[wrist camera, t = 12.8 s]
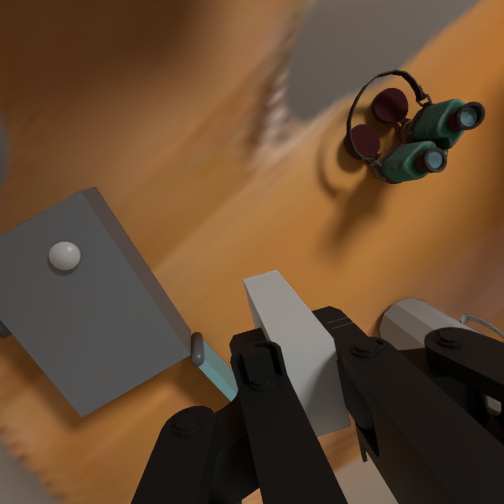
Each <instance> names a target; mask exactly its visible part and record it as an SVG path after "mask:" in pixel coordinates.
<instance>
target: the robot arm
mask: <svg viewBox="0 0 504 504" xmlns="http://www.w3.org/2000/svg"><path fill="white" fill-rule="evenodd" d="M243 282H244V286H245V290H246V294H247V297H248V301H249V305H250V309H251V313H252V317H253V321H254V325H255V329H254V330H250V331H247V332H243V333H240V334H237V335H234V336H233V338H232V340H231V342H230V344H229V345H230V349H231V354H232V356H231V361H230V363H231V366H232V370H233V373H234V377H235V380H236V384H237V387H238V392H237V395H236V396H235V398H234V399H233V400H232V401H231V402H230V403H229V404H228V405H227V406H225V407H224V408H222V409H221V410H219V411H217V412H215V413H214V412H213V411H212V410H211V408H208V407H205V406H193V407H189V408H186V409H183V410H181V411H179V412H178V413H176V414H174V415H173V416H172V417H171V418H170V419H169V420H167V421H166V423H165V424H164V426H163V428H162V429H161V432H160V434H159V436H158V439H157V441H156V444H155V446H154V449H153V451H152V453H151V456H150V458H149V461H148V463H147V466H146V468H145V470H144V473H143V475H142V478H141V480H140V483H139V485H138V487H137V490H136V492H135V495H134V497H133V500H132V502H131V504H242V500H243V499H244V498H245V497H247V496H248V495H250V494H251V493H253V492H254V491H255V490H257V489H258V488H260V492H261V496H262V501H263V504H348V503H347V501H346V498H345V496H344V494H343V492H342V490H341V488H340V486H339V484H338V481H337V479H336V477H335V475H334V473H333V471H332V469H331V466H330V464H329V462H328V460H327V458H326V456H325V454H324V452H323V449H322V447H321V445H320V443H319V441H318V439H317V437H318V436H321V435H324V434H327V433H330V432H333V431H336V430H339V429H342V428H345V427H348V426H351V424H350V419H349V414H348V411H349V412H350V414H351V416H352V417H353V419H354V420H355V425H356V430H357V435H358V441H359V446H360V451H361V456H362V459H363V462H366V461H367V456H366V451H367V453H368V454H369V456H370V458H371V459H372V461H373V463H374V464H375V466H376V467H377V469H378V471H379V472H380V474H381V476H382V477H383V479H384V480H385V482H386V484H387V485H388V487H389V488H390V490H391V492H392V493H393V495H394V497H395V499H396V500H397V502H398V503H399V504H504V343H503V342H500V341H498V340H495V339H493V338H490V337H487V336H485V335H482V334H479V333H477V332H474V331H472V330H468V329H464V328H457V327H446V328H445V327H443V328H439V329H436V330H433V331H431V332H429V333H428V334H427V335H426V336H425V338H424V346H425V348H417V349H407V350H397V349H396V348H395V347H394V346H393V345H392V344H391V343H389V342H388V341H386V340H384V339H381V338H377V337H368V336H367V335H366V334H365V333H364V332H363V331H362V330H361V329H360V328H359V327H358V326H357V325H356V324H355V323H353V322H352V320H350V319H349V318H347V316H346V315H345V314H344V313H343V312H342V311H341V310H339V309H337V308H334V307H331V306H328V307H324V308H321V309H318V310H314V311H310V310H309V308H308V307H307V306H306V305H305V303H304V302H303V301H302V300H301V299H300V297H299V296H298V295H297V294H296V293H295V291H294V290H293V289H292V288H291V286H290V285H289V284H288V283H287V282H286V280H285V279H284V278H283V277H282V275H281V274H280V273H279V272H278V271H277V270H274V271H270V272H267V273H263V274H260V275H256V276H252V277H249V278H245V279H243ZM488 396H489V397H491V398H493V399H494V400H496V401H498V402H500V403H501V412H499V411H496V410H494V409H492V408H490V407H489V406H488Z"/></svg>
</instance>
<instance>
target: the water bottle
mask: <svg viewBox="0 0 504 504" xmlns="http://www.w3.org/2000/svg"><path fill="white" fill-rule="evenodd" d="M460 319H461V320H460V322H461V323H460V322H459V321H457V320H455V319H453V318H452V317H450V316H448V315H447V314H445V313H443V312H441V311H440V310H438V309H436V308H435V307H433V306H431V305H430V304H428V303H426V302H424V301H423V300H418V299H412V298H407V299H404V300H402V301H399V302H396V303H394V304H393V305H392V306H391V307H390V308H389V309H388V310H387V311H386V312H385V313H384V315H383V318H382V321H381V324H380V327H379V330H380V335H381V339H384V340H386V341H388V342H389V343H391V344H392V345H393V346H394V347H395V348H396V349H397V350H407V349H417V348H425V346H424V338H425V336H426V335H427V334H428V333H429V332H431V331H433V330H436V329H439V328H443V327H445V328H446V327H457V328H464V329H468V330H472V331H474V332H477V331H475V330H474V329H472V328H470V327H468V326H466V325H465V323H466V322H467V321H468V320H471V321H475V322H478V323H480V324H482V325H484V326H486V327H489V328H490V329H491V330H493V331H494V332H496V333H497V334H498V335H500V336H501V337H503V338H504V333H503V332H502V331H500V330H499V329H497V328H496V327H495V326H493V325H492V324H490V323H489V322H488V321H485V320H483V319H481V318H478V317H476V316H473V315H469V314H465V315H464V316H462V317H460ZM477 333H479V332H477ZM479 334H481V333H479ZM482 335H483V334H482ZM488 406H489V407H490V408H492V409H494V410H496V411H499V412H501V403H500V402H498V401H496V400H494V399H493V398H491V397H489V396H488Z"/></svg>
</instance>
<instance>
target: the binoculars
mask: <svg viewBox="0 0 504 504" xmlns="http://www.w3.org/2000/svg"><path fill="white" fill-rule="evenodd" d="M390 74H393V75H398V76H402V77H403V78H404V79H405V80H406V81H407V82H408V83H409V84H410V86H411V87H412V89H413V90H414V92H415V95H416V102H417V103H418V104H419V105H420V106H421V107H423V108H422V109H421V110H419V111H418V112H417V113H416V115H415V117H414V118H413V119H407V118H405V117H406V115H407V112H408V101H407V99H406V96H405V95H404V93H403V92H402V91H400V90H399V89H396V88H388V89H385V90H383V91H382V92H380V93H379V94H378V95H377V96H376V97H375V99H374V100H373V103H372V112H373V115H374V117H375V118H376V119H377V120H379V121H380V122H383V123H396V122H399V123H400V124H402V125H401V127H400V137H401V140H402V142H403V143H404V144H400V145H399V146H398V147H395V148H393V149H391V150H390V151H389V152H388V153H387V154H377V152H378V151H379V149H380V140H379V136H378V134H377V132H376V131H375V130H374V129H373V128H372V127H371V126H369V125H365V124H360V125H357V126H355V127H354V128H353V129H351V120H352V116H353V113H354V109H355V106H356V104H357V102H358V100H359V98H360V96H361V95H362V93H363V92H364V90H365V89H366V87H367V86H368V85H369V84H370V83H371V82H372V81H373V80H374V79H376V78H378V77H382V76H386V75H390ZM426 98H428V100H429V101H428V102H426V103H424V104H422V103H421V102H420V101H421V100H424V99H426ZM484 117H485V109H484V107H483V105H482V104H480V103H478V102H469V103H467V104H465V103H464V102H463V101H461V100H460V99H451V100H448V101H444V102H440V103H437V104H432V100H431V98H430V96H429V95H428V94H425V93H424V92H423V91H422V88H421V86H419V85H418V84H417V82H416V80H415V79H414V78H413V77H412V76H411V75H410V74H409V73H408V72H405V71H400V70H393V71H389V72H385V73H381V74H379V75H377V76H376V77H374V78H373V79H372V80H371V81H370V82H369V83H367V84H366V85H365V86H364V87H363V88H362V90H361V91H360V93H359V94H358V96H357V97H356V99H355V101H354V103H353V105H352V107H351V109H350V112H349V116H348V119H347V135H346V137H345V142H344V144H345V148H346V150H347V152H348V153H349V154H350V155H351V156H353V157H355V158H358V159H357V160H362V161H365V162H366V163H367V164H368V165H370V166H372V167H373V171H374V175H375V176H376V177H377V178H378V179H379V180H383V181H384V182H386V183H390V184H398V183H401V182H404V181H410V180H417V179H420V178H423V177H424V176H426V175H427V174H428V173H437V172H441V171H443V170H444V169H445V167H446V165H447V156H448V155H447V153H448V149H450V148H452V147H453V146H454V145H455V143H456V142H457V141H458V140H459V138H460V137H461V135H462V134H463V132H464V131H465V130H470V129H474V128H476V127H478V126H479V125H480V124H481V123H482V121H483V120H484ZM370 157H371V158H370Z"/></svg>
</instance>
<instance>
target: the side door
mask: <svg viewBox="0 0 504 504" xmlns="http://www.w3.org/2000/svg"><path fill="white" fill-rule="evenodd" d="M191 348H192V364H193V365H194V366H198V367H199V368H200V369H201V370H202V372H203V373H204V374H205V375H206V376H207V377H208V378H209V379H210V380H211V381H212V382H213V383H214V384H215V385H216V386H217V387H218V388H219V389H220V391H221V392H222V393H223V394H224V395H225V396H226V397H227V398H228V399H229V400H230V401H232V400H233V399H234V398H235V396H236V395H237V392H238V387H237V384H236V380H235V377H234V373H233V371H232V370H231V369H230V368H229V367H228V366H227V365H226V363H225V362H224V361H223V360H222V359H221V358H220V357H219V356H218V355H217V354H216V353H215V351H214V350H213V349H212V348H211V347H210V346H209V345H208V344H207V343H206V342H205V340H204V339H203V340H202V334H201V333H199V332H195V333H193V334H192V337H191Z"/></svg>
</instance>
